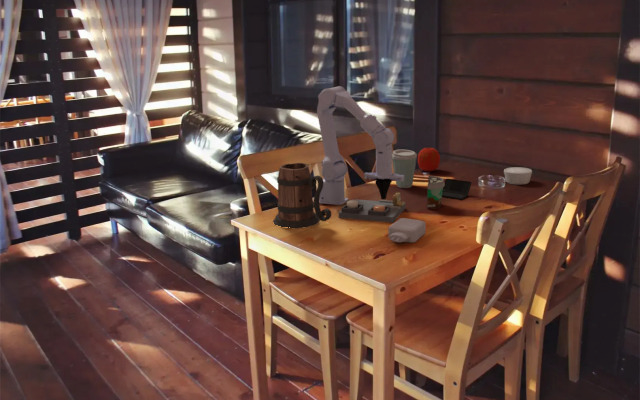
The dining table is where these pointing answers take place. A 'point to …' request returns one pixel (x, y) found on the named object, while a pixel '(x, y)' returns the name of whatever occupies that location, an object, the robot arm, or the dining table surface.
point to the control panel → (372, 211)
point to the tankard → (298, 197)
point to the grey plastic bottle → (406, 230)
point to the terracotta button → (379, 208)
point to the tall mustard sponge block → (397, 200)
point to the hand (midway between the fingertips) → (383, 198)
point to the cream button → (352, 204)
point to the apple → (428, 159)
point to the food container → (434, 192)
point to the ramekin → (517, 175)
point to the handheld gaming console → (456, 189)
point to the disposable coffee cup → (404, 166)
